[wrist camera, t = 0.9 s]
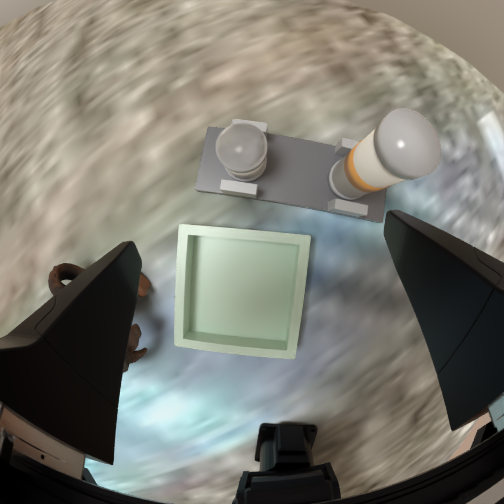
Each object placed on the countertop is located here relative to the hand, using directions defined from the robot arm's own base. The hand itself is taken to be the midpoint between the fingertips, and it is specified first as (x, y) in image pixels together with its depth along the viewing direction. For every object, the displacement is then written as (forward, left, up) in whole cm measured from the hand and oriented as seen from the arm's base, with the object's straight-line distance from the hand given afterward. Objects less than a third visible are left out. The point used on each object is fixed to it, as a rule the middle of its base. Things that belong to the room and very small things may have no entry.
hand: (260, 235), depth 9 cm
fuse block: (+6, -3, -16) cm, 17 cm away
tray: (-5, +1, -16) cm, 16 cm away
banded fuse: (+5, -7, -15) cm, 17 cm away
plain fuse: (+6, +2, -15) cm, 16 cm away
